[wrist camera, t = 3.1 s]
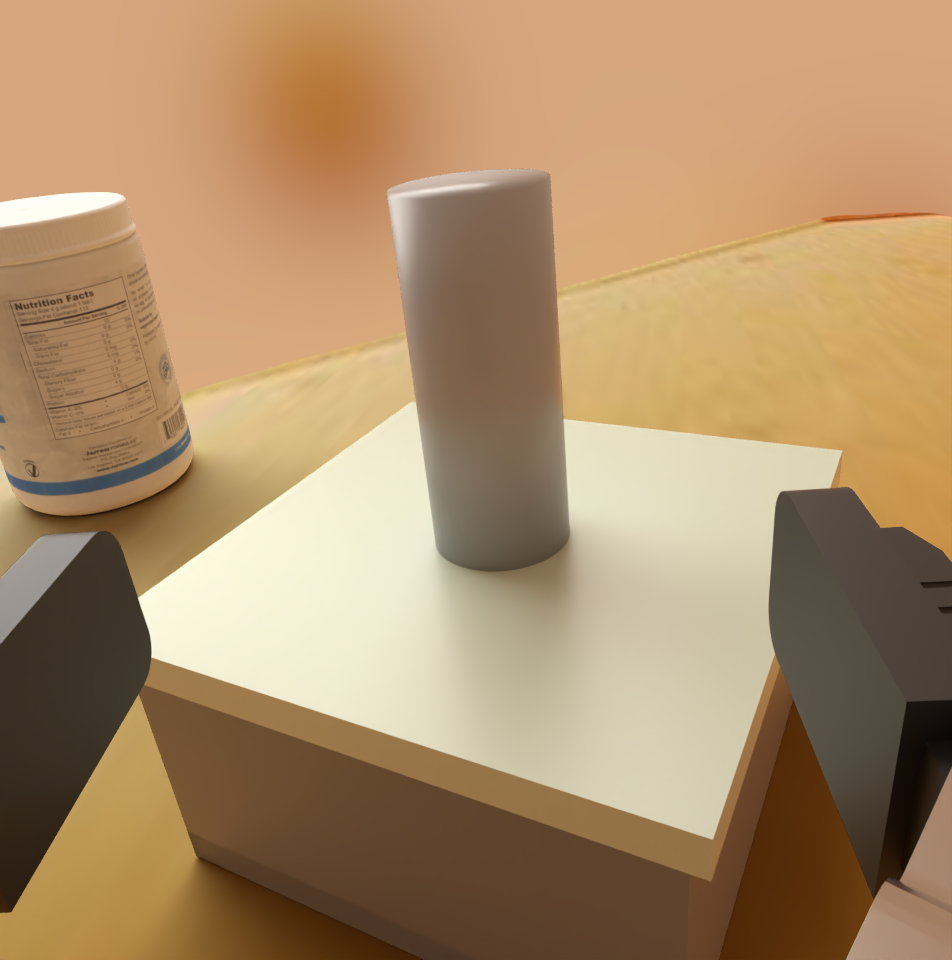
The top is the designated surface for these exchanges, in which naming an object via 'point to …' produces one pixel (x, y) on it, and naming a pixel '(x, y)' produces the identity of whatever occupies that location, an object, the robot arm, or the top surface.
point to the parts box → (440, 849)
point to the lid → (505, 568)
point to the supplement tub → (83, 359)
